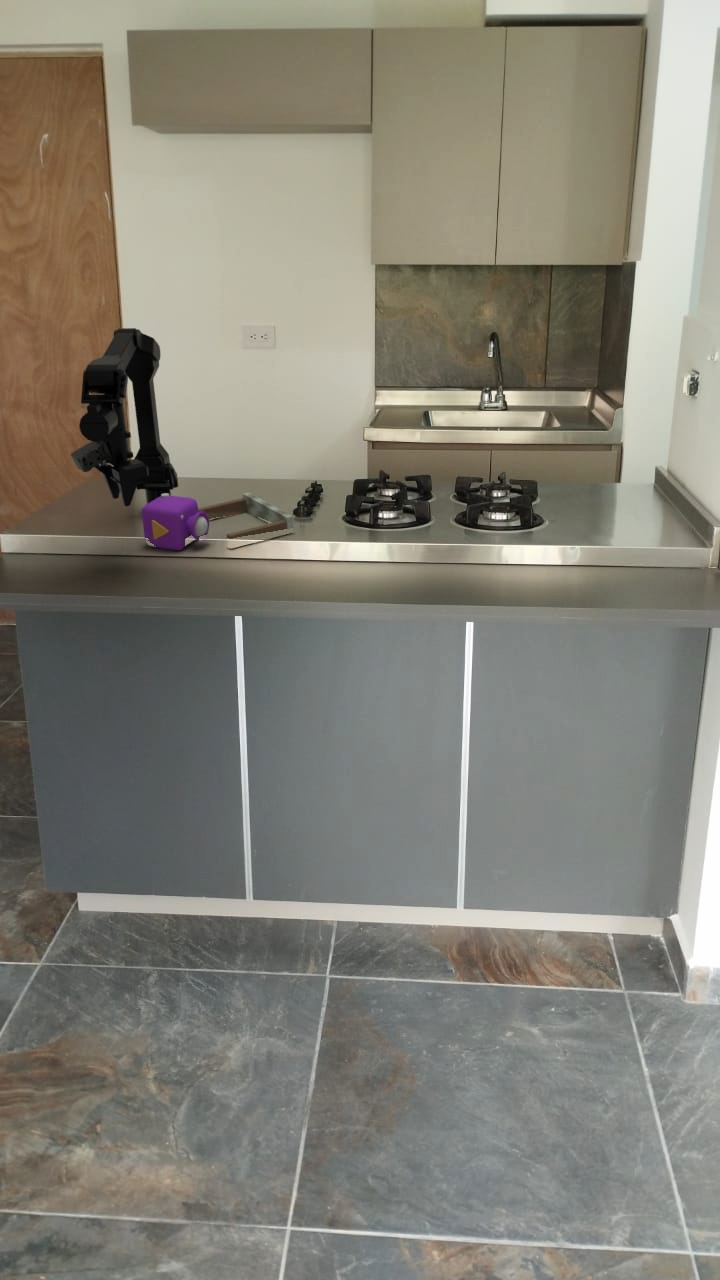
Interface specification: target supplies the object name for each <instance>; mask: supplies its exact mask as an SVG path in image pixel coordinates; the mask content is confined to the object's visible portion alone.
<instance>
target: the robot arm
mask: <svg viewBox="0 0 720 1280" xmlns="http://www.w3.org/2000/svg"><path fill="white" fill-rule="evenodd" d="M160 360H161V346H160V344H159V343H158V342H157V341H156V339H155V337H152V336H149V335H147V334H145V333H144V332H143V333H142V331H141V330H140V329H137V328H136V327H135V328H134V327H133V328H131V327H129V328H128V327H127V328H125V327H122V328H117V329H114V332H113V338H112V339H111V342H110V343H109V345H108V346H107V348H106V350H105V351H104V354H103V355H102V356H101V357H98V358H96V359H93V360H91V361H90V362H89V363H88V364H87V365H86V367H85V369H84V370H83V372H82V373H83V374H82V384H81V386H82V387H81V396H80V397H81V398H80V403H81V404H82V405H85V404H86V411H87V412H86V413H84V415H83V416H82V417H81V418H80V420H79V430H80V433H81V435H82V436H83V437H84V438H85V439H86V440H88V441H90V442H89V443H86V444H84V445H83V446H81V447H80V448H78V449H76V450H75V451H73V452H71V454H70V456H71V459H72V460H73V462H74V464H75V466H76V468H77V469H78V470H81V471H82V472H83V473H88V472H90V471H91V470H92V469H96V470H97V471H99V472H100V473H101V474H102V477H103V479H104V481H105V483H106V485H107V488H108V490H109V493H110V495H111V498H112V499H114V500H116V499H119V497H121V499H122V502H123V506H125V507H129V506H131V503H132V501H133V499H134V496H135V493H136V489H137V491H138V490H145V491H144V492H145V498H146V504H148V503H150V502H151V501H153V500H155V499H157V498H158V497H160V496H161V494H163V493H168V494H169V496H172V493H171V491H172V490H174V489H175V488H178V487H179V478H178V473H177V471H176V469H175V467H174V466H173V464H172V463H171V459H170V455H169V453H168V451H167V450H166V448H165V447H164V446H163V445H162V443H161V438H160V429H159V419H158V411H157V410H158V409H157V401H156V393H155V392H156V391H155V383H154V379H155V378H154V377H155V376H156V374H157V372H158V370H159V368H160ZM128 380H129V381H130V382H131V384H132V391H133V392H132V393H133V400H134V401H133V403H134V408H135V410H134V411H135V417H136V427H137V436H138V442H139V448H138V450H137V453H136V455H135V456H134V452H133V451H131V450H130V447H129V446H130V445H129V439H130V438H132V436H131V435H132V434H131V431H129V430H127V423H126V416H125V415H126V414H125V409H124V408H125V407H124V402H123V401H124V399H125V398H126V396H127V390H128V389H127V388H128V382H129V381H128ZM87 404H88V405H87ZM132 458H133V459H132Z"/></svg>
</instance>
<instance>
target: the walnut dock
mask: <svg viewBox="0 0 720 1280" xmlns="http://www.w3.org/2000/svg"><path fill="white" fill-rule="evenodd" d="M200 511H204V512H205V513H206V514H207V515H208V518H209V519H211V518H216V517H223V516H229V515H233V516H236V515H235V514H237V515H240V513H241V514H245V513H249V514H250V515H251V514H252V516H253V515H254V516H253V517H255V516H257V517H260V518H262V519H265V520H267V521H270V522H272V523H270V524H267V523H266V524H262V525H258V526H255V527H251V528H246V529H243V530H238V531H234V532H231V533H228V534H226V539H227V538H229V539H233V538H237V537H242V536H248V535H255V534H261V533H266V532H273V531H278V530H284V529H290V528H294V516H293V515H291V514H289V513H288V512H286V511H284V510H282V509H280V508H278V507H277V506H275V505H273V504H271V503H269V502H267V501H265V500H263V499H261V498H259V497H258V496H256V495H254V494H252V493H250V492H245V493H242V498H238V499H233V500H229V501H228V500H227V501H225V502H219V503H216V504H212V505H207V506H203V507H200V508H199V507H198V512H200ZM229 517H230V516H229ZM257 517H256V518H257Z"/></svg>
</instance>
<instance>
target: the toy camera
mask: <svg viewBox="0 0 720 1280" xmlns="http://www.w3.org/2000/svg"><path fill="white" fill-rule="evenodd" d="M198 508H199V506H198V502H197V500H196V499H194V498H191V497H184V496H177V495H171V496H169V494H168V493H163V494H161V496H160V497H158V498H157V499H155V500H153V501H151V502H150V503H148V504H147V503H146V504H145V505H143V507H142V508H141V520H142V527H143V536H144V539H145V538H148V539H149V540H148V541H150V543H152V544H154V546H156V547H159V548H158V549H164V550H170V551H171V550H172V551H181V550H183V549H185V548H186V547H185V539H186V538H187V537H189V536H191V535H192V536H193V537H194V538H195V539H196V540H195V541H198V542H200V541H199V537H200V536H203V535H208V534H209V530H210V521H209V518H208V515H207V514H206V513H205V512H204V511H200V512H198ZM156 547H155V548H156ZM184 547H185V548H184Z"/></svg>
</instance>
